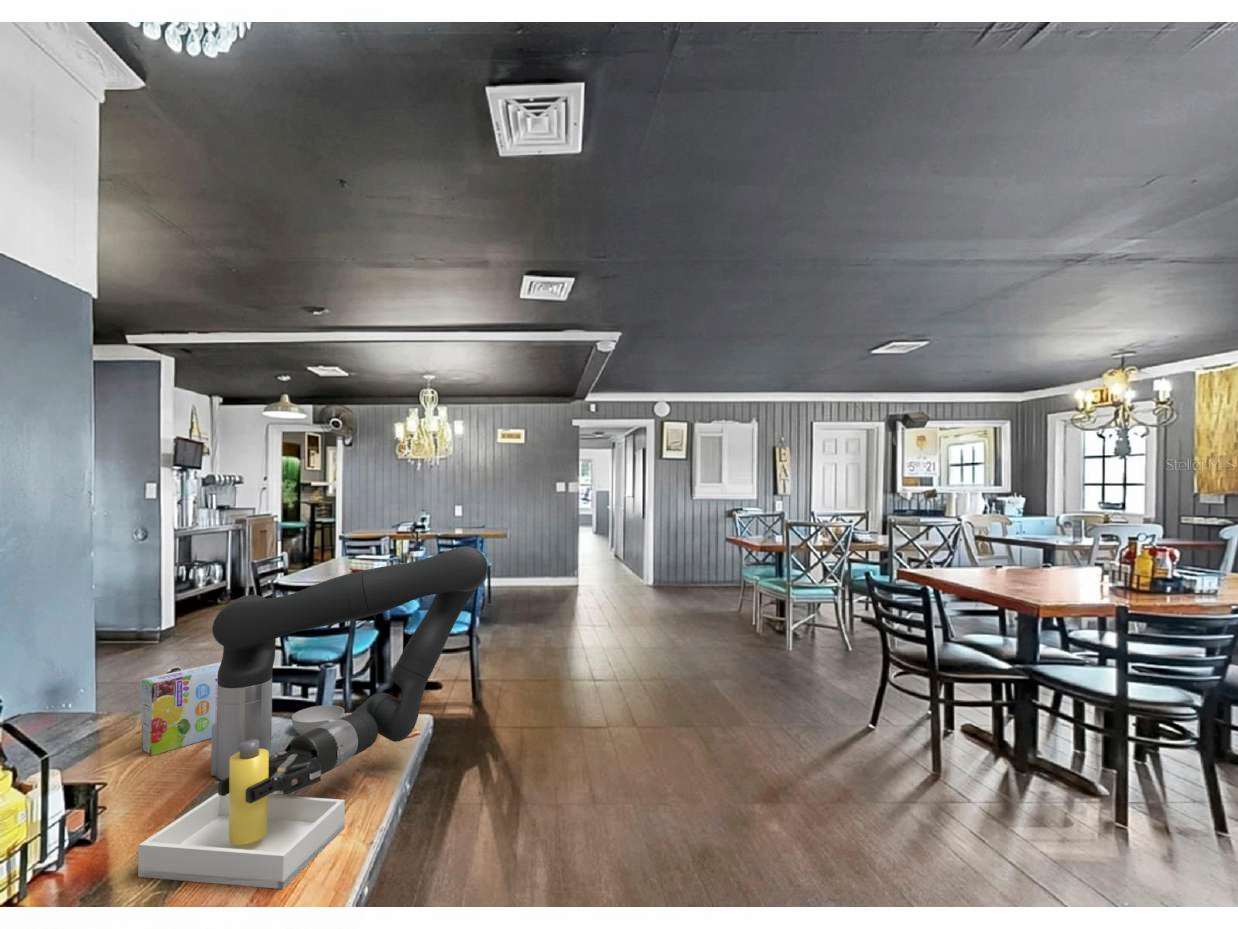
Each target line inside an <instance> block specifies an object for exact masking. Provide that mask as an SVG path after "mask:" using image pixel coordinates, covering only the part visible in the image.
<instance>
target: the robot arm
mask: <svg viewBox="0 0 1238 929" xmlns="http://www.w3.org/2000/svg"><path fill="white" fill-rule="evenodd" d="M488 567H489V566H488V562H487V558H486V556H485V555H484V554H483V552H481V550H479V549H478V548H475V547H472V546H466V545H464V546H463V545H462V546H459V547H454V548H452V549H449V550H447V551H444V552H440V553H438V554H435V555H432V556H428V557H426V558H422V559H419V560H416V561H412V562H411V561H410V562H406V563H397V564H391V565H385V566H379V567H374V568H373V567H372V568H369V569H364V570H359V571H355V572H351V573H347V574H343V575H340V576H335V577H333V578H330V579H327V580H325V581H324V580H323V581H321V582H319V583H316V584H314V585H312V586H309V587H306V588H304V589H301V590H299V591H297V592H293V593H290V594H286V595H281V596H276V597H271V598H270V597H269V598H265V597H263V596H261V595H257V594H248V595H244V596H241V597H238V598H236V599H235V600H233V601H232V602H230V603H228V604H227V605H226V606H224V607H223V608H222V609H221V610H220V611H219V612H218V614H217V615H216V617H215V619H214V620H213V623H212V626H211V627H212V629H211V630H212V635H213V638H214V639H215V641H216V642H217V643H218V644H219V645H221V646H223V647H222V649H223V650H222V651H223V652H222V658H221V661H220V662H221V664H220V667H219V670H218V691H217V723H215V724H213V725H212V738H211V751H210V754H211V755H210V756H211V757H210V776H214V777H216V778H217V779H219V780H220V781H219V782H218V783H217V793H218V795H220V796H225V795H227V794H229V768H230V757H231V756H232V755H234V754H236V753H238V752H240V743H241V742H243V741H245V740H249V739H258V740H259V749H266V750H268V751H269V773H268V778H266V779H264V780H263V781H261V782H258V783H256V784H254V785H252V786H250V787H248V788H247V790H246V802H247V803H253V802H255V801H257V800H259V799H261V798H263V797H264V796H266V795H277V794H279V793H280V792H281V791H282V794H283V795H290V794H293V793H294V792H296V791H299V790H301V789H305V788H306V787H308V786H311V785H314V784H315V783H319V782H321V780H322V775H325V774H326V773H328V772H330V771H332V770H333V769H336V768H337V767H340V766H341V765H342V764H344V763H345V762H347V761H348V760H349V759H351V758H353V757H354V756H356V755H358V754H361V753H362V752H364V751H366V750H368V749H369V748H370V747H371V746H373V745H374V744H375V742H376V741H377V738H378V735H380V736H382V737H383V738H385V739H387V740H389V741H392V742H394V743H398V742H402V741H403V740H405V739H406V738H408V737H409V736H410V735H411V733H412V732H413V730H414V728H416V727H415V726H416V725H417V722H418V718H419V715H420V714H419V713H420V709H421V703H422V700H423V696H424V692H425V688H426V686H427V683H428V681H429V679H430V676H432V673H433V671H434V669H435V668H436V664H437V663H438V661H439V659H440V657H441V655H442V653H443V651H444V649H445V646H446V644H447V641H448V639H449V636H450V635H451V632H452V629H453V628H454V626H455V624H456V622H457V620H458V618H459V616H460V614H461V612H462V611H463V609H464V608H465V607H466V604H467V603H468V602H469V600H470V599H471V597H472V596H473V595H474V593H475V592H476V591H477V589H479V587H481V586H482V585H483V583H484V581H485V580H486V577H487V575H488V574H487V573H488ZM433 595H434V598H433V600H432V602H431V604H430V606H429V608H428V610H427V611H426V613H425V614H424V617H423V618H422V619H421V621H420V623H419V624H418V625H417V627H416V629H415V631H414V632H413V633H412V635H411V637H410V638H409V640H408V642H407V643H406V645H405V647H404V649H403V651H402V652H401V655H400V657H399V659H398V660H397V662H396V664H395V666H394V668H393V670H392V672H391V680H392V681H393V682H394V683H395V684H396V685H397V686H398V687H399V689H400V690H401V691H400V692H401V696H400V699H399V698H397V697H395V696H393V695H391V694H390V693H388V692H387V693H386V692H378V693H374V694H372V695H371V696H369V697H368V698H367V699H366V700H365V701H364V702H363V703H362V704H360V705H359V706H358V707H357V708H356V709H355V710H354V711H353V712H351V713H350V714H348V715H344V717H343V718H341V719H338V720H336V721H333V722H329V723H326V724H324V725H322V726H319V727H317V728H315V729H313V730H310V731H308V732H306V733H304V734H301V735H300V734H299V735H297V736H295V737H294V738H292V739H291V740H290V742H289V743H288V745H287V746H286V748H285V749H284V750H283V751H279V752H276V753H274V754H272V726H273V725H272V721H273V720H272V719H273V718H272V713H273V668H274V664H275V659H276V658H275V657H276V645H277V644H276V642H277V641H276V640H277V639H278V638H281V637H284V636H286V635H290V634H293V633H296V632H300V631H304V630H311V629H316V628H323V627H328V626H332V625H337V624H341V623H346V622H351V621H356V620H361V619H364V618H367V617H372V616H375V615H379V614H383V613H385V612H387V611H390V610H393V609H395V608H398V607H401V606H403V605H405V604H408V603H410V602H412V601H414V600H417V599H420V598H423V597H424V598H425V597H427V596H433ZM293 783H295V784H293ZM292 784H293V785H292Z"/></svg>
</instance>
